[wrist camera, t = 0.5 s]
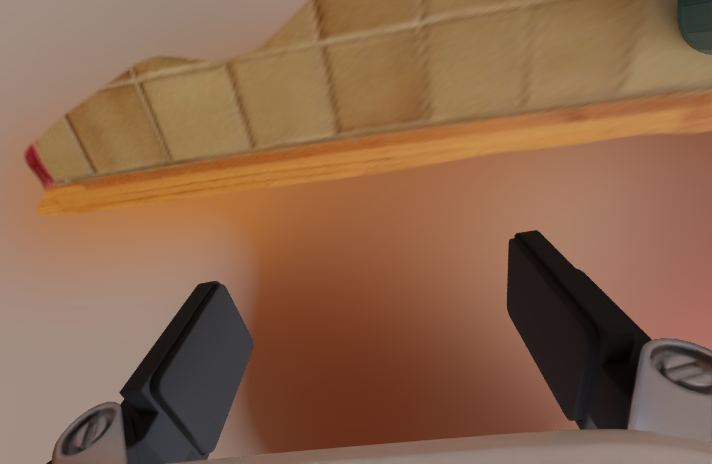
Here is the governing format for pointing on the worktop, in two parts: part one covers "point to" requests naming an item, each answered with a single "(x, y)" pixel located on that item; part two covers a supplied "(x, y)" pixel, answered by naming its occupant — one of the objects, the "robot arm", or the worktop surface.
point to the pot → (696, 23)
